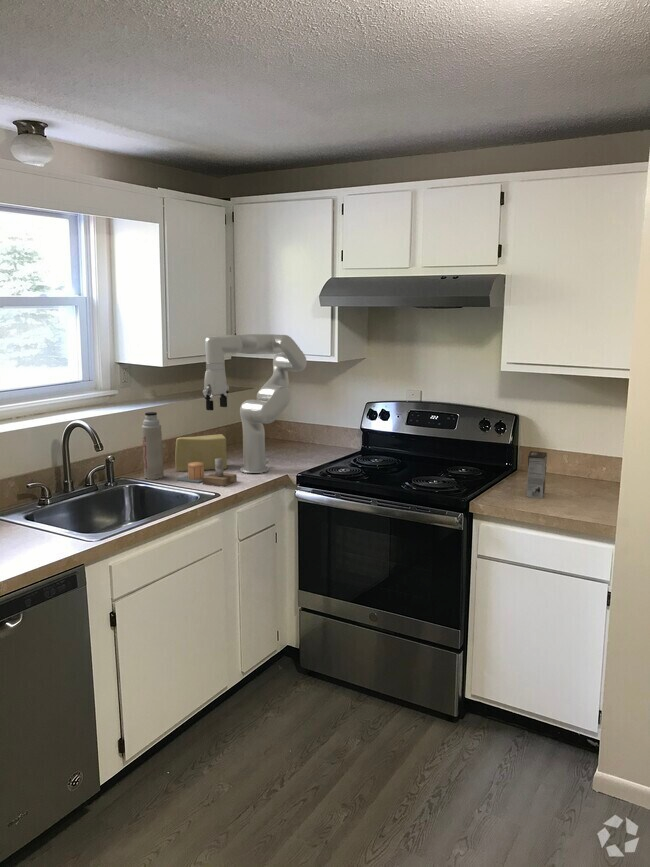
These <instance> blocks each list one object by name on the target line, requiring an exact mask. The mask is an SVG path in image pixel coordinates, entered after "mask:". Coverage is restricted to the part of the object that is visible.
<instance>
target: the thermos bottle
mask: <svg viewBox="0 0 650 867" xmlns="http://www.w3.org/2000/svg"><path fill="white" fill-rule="evenodd" d="M144 415H145V416H144V418H145V419H144V420H143V422H142V425H141V436H142V456H143V472H144V473H143V474H144V475H143V477H144V479H145V478H147V479H146V480H159V478H160V479H163V478H164V475H165V473H164V460H163V437H162V436H163V435H162V425H161V424H160V423H161V422H160V419H158V413H157V412H156V411H148V412H145V413H144Z"/></svg>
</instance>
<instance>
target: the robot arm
mask: <svg viewBox="0 0 650 867" xmlns="http://www.w3.org/2000/svg"><path fill="white" fill-rule="evenodd" d="M204 343H205V345H204V346H205V347H204V348H205V370H206V371H205V372H204V373H205V374H204V382H203V385H204V386H203V388H204V389H203V390H202V394H203V398H204V400H205V408H206V411H214V400H213V398H214V396H220V397H219V407H220V408H227V407H228V397H229V396H228V395H229V390H230V386H229V385H228V383H227V376H226V367H225V366H226V365H225V364H226V363H225V360H226V359H225V354H229V355H230V354H232V355H235V354H237V353H238V354H244V355H266V354H267V355H271V354H272V355H274V357H273V359H272V367H273V368H272V369H273V370H272V372H273V373H272V376H271V377H270V378H268V380H267V381H266V382H265V383H264V385H262V386H261V388H260V389H259V390H258V392H257V393H256V399H247V400H245V401H243V402H242V403H241V405H240V408H239V416H240V419H241V420H240V421H241V425H242V426H241V428H242V447H243V448H242V454H243V455H242V458H243V466H241V467H240V469H239V470H240V471H239V472H240V473H242V472H244V473H243V474H247V473H260V474H264V473H263V472H265V473H267V471H268V470H269V471H270V467H269V466H267V465H266V464H269V463H270V459H269V458H266V441H265V440H266V439H265V438H266V437H265V436H266V433H265V427H264V424H271V423H273V422H275V421H276V420H277V419H278V417H280V415H281V414H282V413H283V412H284V411H285V410H286V409H287V407H289V405H290V403H291V399H292V394H291V390H290V389H289V388H288V386H289V384H290V379H289V373H288V372H298V373H299V372H301V371H304V370H305V368H306V367H307V364H308V361H307V357H306V355H305V353H304V352H303V350H301V348H300V346H299V345H298V344H297V343H296V341H295V340H294V339H293V338H292V337H291V336H290V335H287V334H270V333H269V334H267V333H266V334H264V333H262V334H261V333H255V334H254V333H253V334H252V333H249V334H246V333H245V334H218V335H215V336H207V337H206V338H205V341H204ZM269 471H268V472H269Z"/></svg>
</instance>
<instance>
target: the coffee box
mask: <svg viewBox="0 0 650 867" xmlns="http://www.w3.org/2000/svg"><path fill="white" fill-rule="evenodd" d="M527 457H528V458H527V476H526V477H527V478H526V482H527V483H526V497H527V498H533V499H543V498H544V496H545V493H546V482H547V480H546V479H547V457H548V452H546V451H545V452H542V451H535V450H534V451H530V452H529V454H528V455H527Z"/></svg>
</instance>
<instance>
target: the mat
mask: <svg viewBox="0 0 650 867" xmlns="http://www.w3.org/2000/svg"><path fill="white" fill-rule="evenodd" d="M207 475H208V474H204V476H207ZM177 480H180V481H179V482H184V481H186V482H185V483H192V482H193V484H201V483H203V480H202V479H189V478H188V474H187V475H185V476H182V477H179V478H177V479H176V481H177Z"/></svg>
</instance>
